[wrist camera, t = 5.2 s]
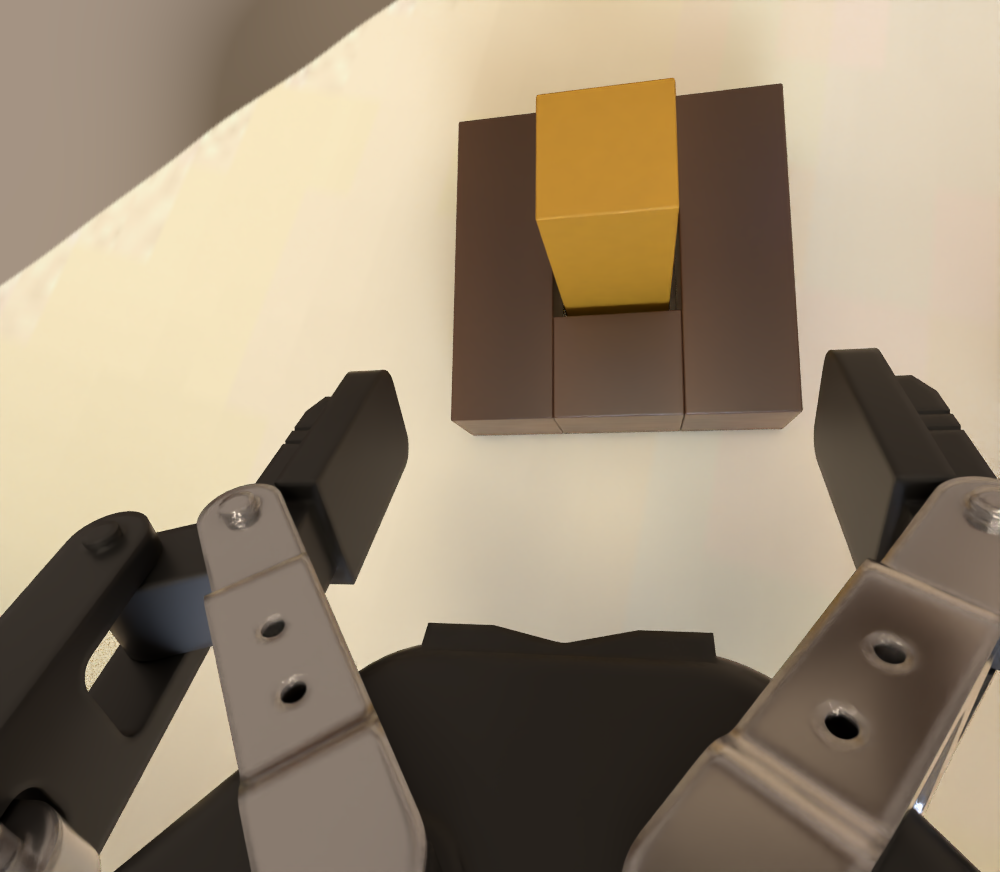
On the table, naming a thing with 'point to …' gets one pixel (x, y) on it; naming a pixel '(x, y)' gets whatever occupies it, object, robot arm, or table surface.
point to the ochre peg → (609, 195)
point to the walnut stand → (639, 335)
